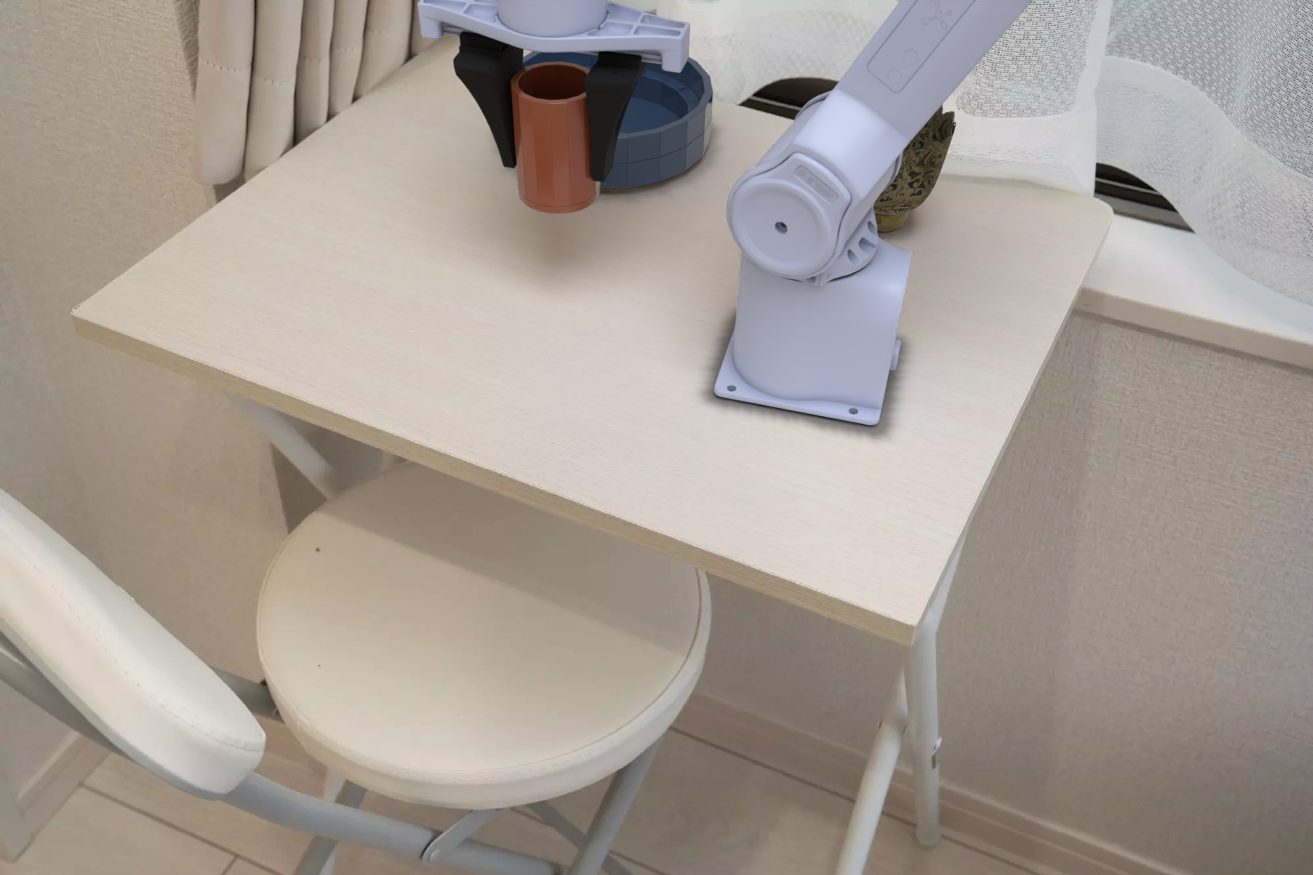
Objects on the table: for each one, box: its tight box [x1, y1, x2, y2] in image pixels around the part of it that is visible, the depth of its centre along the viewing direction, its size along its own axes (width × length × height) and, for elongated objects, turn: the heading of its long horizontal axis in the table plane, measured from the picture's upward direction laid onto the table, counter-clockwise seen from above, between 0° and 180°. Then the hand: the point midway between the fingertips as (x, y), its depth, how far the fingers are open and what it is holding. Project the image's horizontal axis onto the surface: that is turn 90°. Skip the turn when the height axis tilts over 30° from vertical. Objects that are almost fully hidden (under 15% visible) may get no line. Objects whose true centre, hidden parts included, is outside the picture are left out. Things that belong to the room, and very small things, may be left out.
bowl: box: [523, 51, 714, 189], centre depth 87 cm, size 15×15×4 cm
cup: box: [510, 62, 601, 215], centre depth 67 cm, size 5×5×7 cm
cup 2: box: [873, 103, 957, 232], centre depth 78 cm, size 8×7×8 cm
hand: (559, 166), depth 69 cm, fingers closed on cup, 5 cm apart
